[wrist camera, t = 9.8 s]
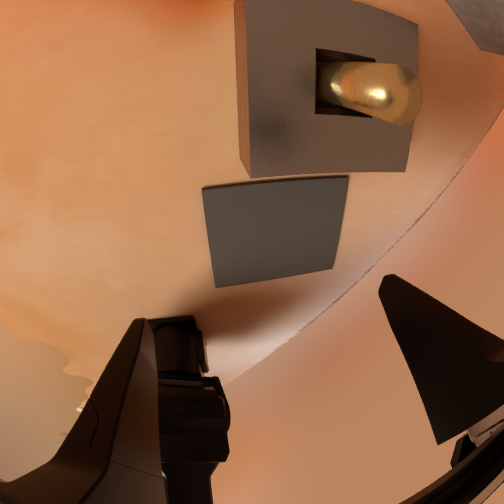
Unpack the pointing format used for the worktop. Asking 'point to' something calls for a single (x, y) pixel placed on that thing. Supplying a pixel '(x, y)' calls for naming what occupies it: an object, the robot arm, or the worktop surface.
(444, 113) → the worktop surface
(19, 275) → the worktop surface
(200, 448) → the robot arm
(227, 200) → the mat
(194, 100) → the worktop surface
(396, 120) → the pin
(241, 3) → the block
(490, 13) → the hip flask
